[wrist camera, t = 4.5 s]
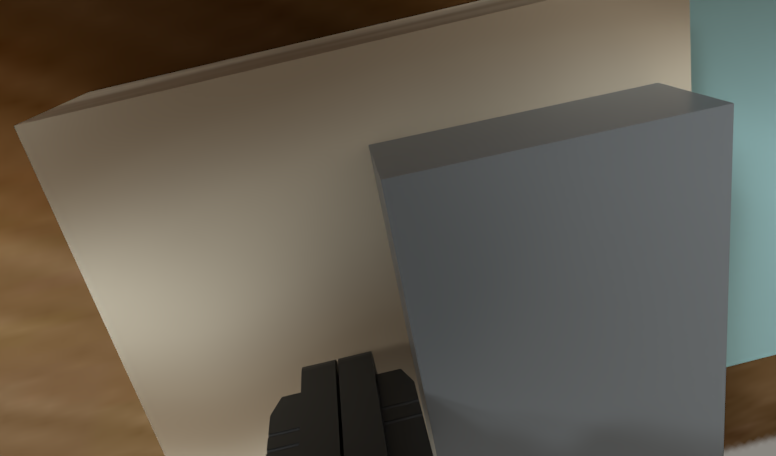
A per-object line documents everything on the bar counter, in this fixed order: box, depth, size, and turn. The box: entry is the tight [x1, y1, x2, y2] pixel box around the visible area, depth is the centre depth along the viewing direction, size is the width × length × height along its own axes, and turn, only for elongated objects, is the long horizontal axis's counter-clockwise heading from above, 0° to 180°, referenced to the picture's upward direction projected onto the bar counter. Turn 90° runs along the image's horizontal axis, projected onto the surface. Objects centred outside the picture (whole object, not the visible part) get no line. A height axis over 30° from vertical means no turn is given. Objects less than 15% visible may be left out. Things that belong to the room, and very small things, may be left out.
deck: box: [14, 0, 691, 456], centre depth 16 cm, size 13×13×4 cm
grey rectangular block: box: [369, 83, 734, 456], centre depth 13 cm, size 9×6×2 cm, turn 11°
